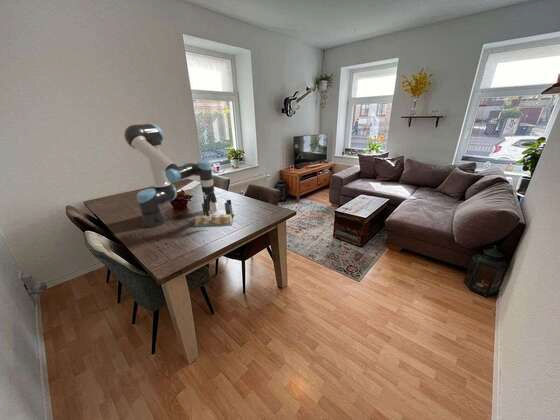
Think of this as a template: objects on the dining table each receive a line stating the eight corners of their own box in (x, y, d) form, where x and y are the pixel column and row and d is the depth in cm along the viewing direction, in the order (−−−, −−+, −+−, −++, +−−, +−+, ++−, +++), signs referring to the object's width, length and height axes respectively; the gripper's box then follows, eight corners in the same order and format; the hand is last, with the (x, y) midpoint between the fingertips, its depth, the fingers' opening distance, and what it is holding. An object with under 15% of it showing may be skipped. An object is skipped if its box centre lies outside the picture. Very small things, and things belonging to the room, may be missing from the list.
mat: (193, 226, 150) (193, 225, 149) (197, 221, 156) (197, 221, 156) (231, 225, 149) (231, 224, 149) (233, 220, 155) (233, 219, 155)
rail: (195, 224, 151) (194, 217, 149) (197, 221, 154) (196, 215, 152) (230, 223, 150) (229, 216, 148) (232, 220, 154) (231, 214, 152)
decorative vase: (214, 214, 166) (209, 182, 156) (201, 214, 168) (195, 182, 158) (221, 209, 176) (216, 178, 166) (208, 208, 178) (203, 178, 168)
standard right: (225, 219, 157) (222, 203, 152) (227, 215, 164) (225, 199, 159) (232, 219, 157) (230, 203, 152) (234, 215, 164) (232, 199, 159)
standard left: (203, 220, 158) (199, 204, 153) (206, 216, 164) (203, 200, 159) (210, 220, 158) (207, 203, 153) (212, 215, 164) (210, 200, 159)
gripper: (207, 191, 130) (212, 223, 139) (218, 179, 153) (222, 208, 162) (194, 191, 130) (200, 223, 139) (207, 180, 153) (212, 208, 162)
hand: (212, 215), depth 150 cm, fingers open, 13 cm apart
